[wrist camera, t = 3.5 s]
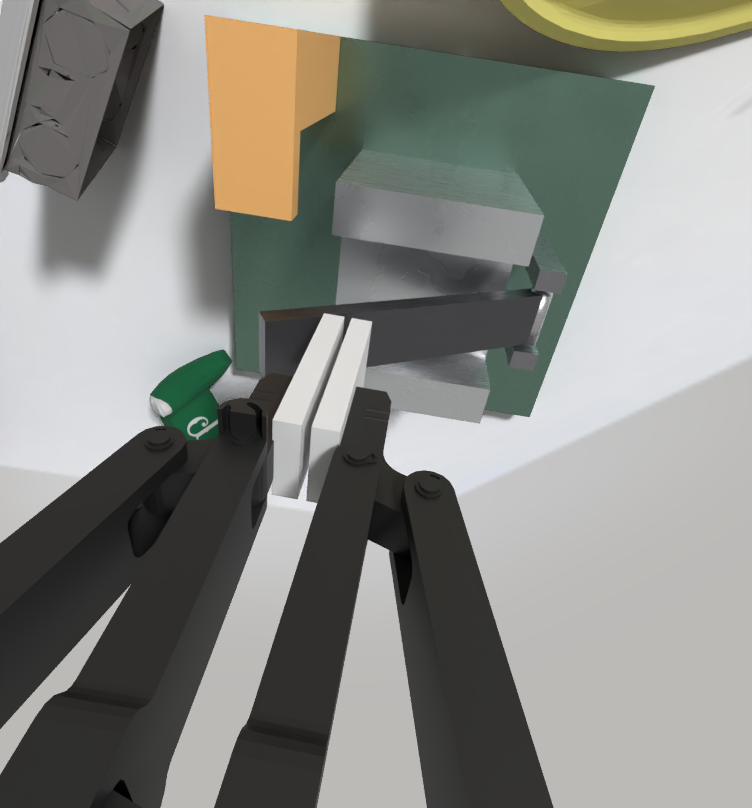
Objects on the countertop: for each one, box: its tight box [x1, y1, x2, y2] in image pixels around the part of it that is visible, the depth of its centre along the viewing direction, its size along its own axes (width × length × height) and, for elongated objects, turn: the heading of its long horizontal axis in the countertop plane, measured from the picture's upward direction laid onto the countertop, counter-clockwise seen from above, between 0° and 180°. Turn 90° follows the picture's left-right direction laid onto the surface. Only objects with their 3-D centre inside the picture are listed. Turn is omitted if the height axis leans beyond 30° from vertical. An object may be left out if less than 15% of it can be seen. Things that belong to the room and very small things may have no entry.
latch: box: [205, 15, 341, 221], centre depth 21 cm, size 3×6×9 cm, turn 172°
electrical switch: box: [0, 0, 164, 201], centre depth 23 cm, size 9×5×9 cm, turn 145°
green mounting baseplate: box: [230, 37, 655, 423], centre depth 26 cm, size 20×19×10 cm
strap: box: [259, 287, 554, 378], centre depth 21 cm, size 14×3×1 cm
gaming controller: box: [150, 350, 232, 440], centre depth 37 cm, size 9×4×6 cm
